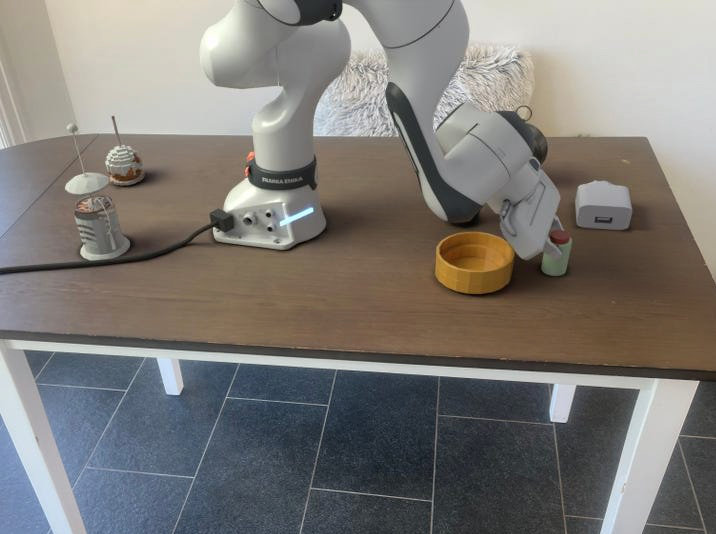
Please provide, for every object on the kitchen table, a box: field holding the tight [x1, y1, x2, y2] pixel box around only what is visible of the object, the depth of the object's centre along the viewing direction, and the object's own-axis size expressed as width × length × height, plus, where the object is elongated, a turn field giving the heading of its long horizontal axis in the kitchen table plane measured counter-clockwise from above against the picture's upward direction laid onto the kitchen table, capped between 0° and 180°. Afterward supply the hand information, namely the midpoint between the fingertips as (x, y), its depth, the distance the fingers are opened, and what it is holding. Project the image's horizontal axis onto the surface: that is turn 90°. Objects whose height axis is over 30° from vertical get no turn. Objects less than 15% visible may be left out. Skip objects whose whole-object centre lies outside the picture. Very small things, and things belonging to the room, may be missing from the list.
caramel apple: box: [104, 114, 146, 186], centre depth 159 cm, size 8×8×15 cm
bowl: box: [434, 231, 516, 295], centre depth 124 cm, size 13×13×5 cm
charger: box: [574, 179, 633, 231], centre depth 138 cm, size 5×9×15 cm
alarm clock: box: [515, 104, 549, 167], centre depth 146 cm, size 11×5×16 cm, turn 58°
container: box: [540, 230, 573, 277], centre depth 123 cm, size 4×4×7 cm
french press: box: [64, 123, 131, 261], centre depth 132 cm, size 10×12×25 cm
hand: (561, 248), depth 122 cm, fingers closed on container, 4 cm apart
